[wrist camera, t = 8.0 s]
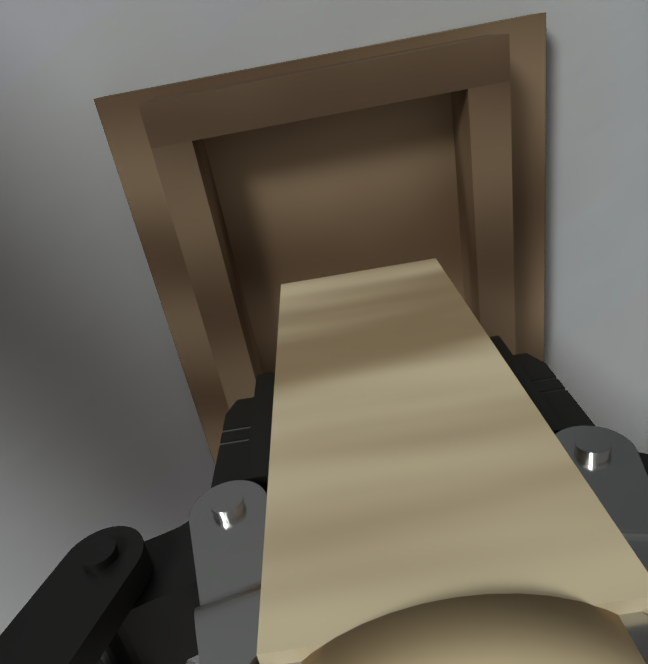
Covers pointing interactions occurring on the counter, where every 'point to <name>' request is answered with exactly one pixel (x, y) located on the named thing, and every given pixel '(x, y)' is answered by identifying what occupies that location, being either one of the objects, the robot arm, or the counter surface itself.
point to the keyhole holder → (338, 188)
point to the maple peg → (425, 494)
